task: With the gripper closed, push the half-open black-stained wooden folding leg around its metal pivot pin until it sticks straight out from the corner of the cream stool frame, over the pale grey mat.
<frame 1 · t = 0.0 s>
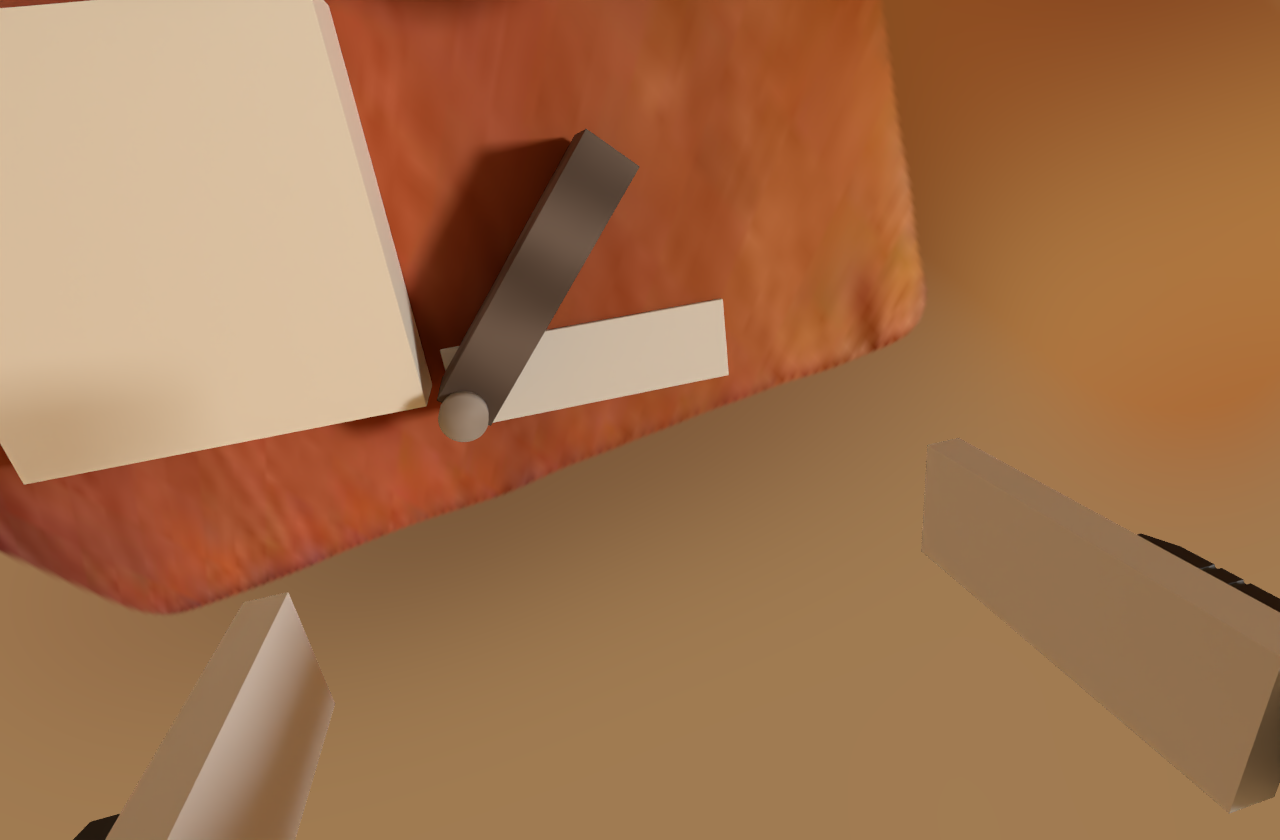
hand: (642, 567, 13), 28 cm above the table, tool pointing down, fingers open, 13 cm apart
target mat: (592, 362, 40), on the table
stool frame: (191, 244, 33), on the table
folding leg: (527, 292, 34), point 3 cm above the table, hinge at 40.0°
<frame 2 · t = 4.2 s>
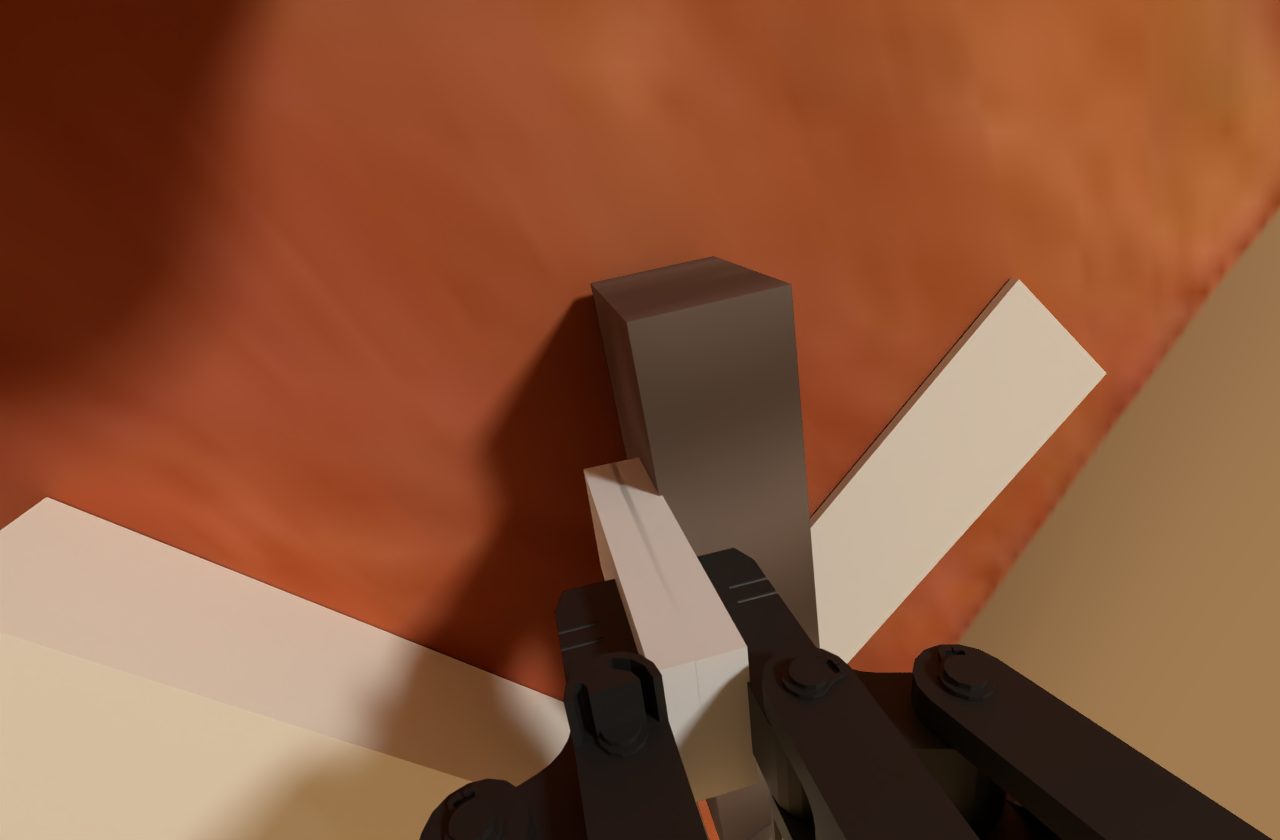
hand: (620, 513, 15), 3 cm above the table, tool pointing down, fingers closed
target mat: (869, 544, 21), on the table
folding leg: (731, 610, 16), point 3 cm above the table, hinge at 42.6°, touching gripper
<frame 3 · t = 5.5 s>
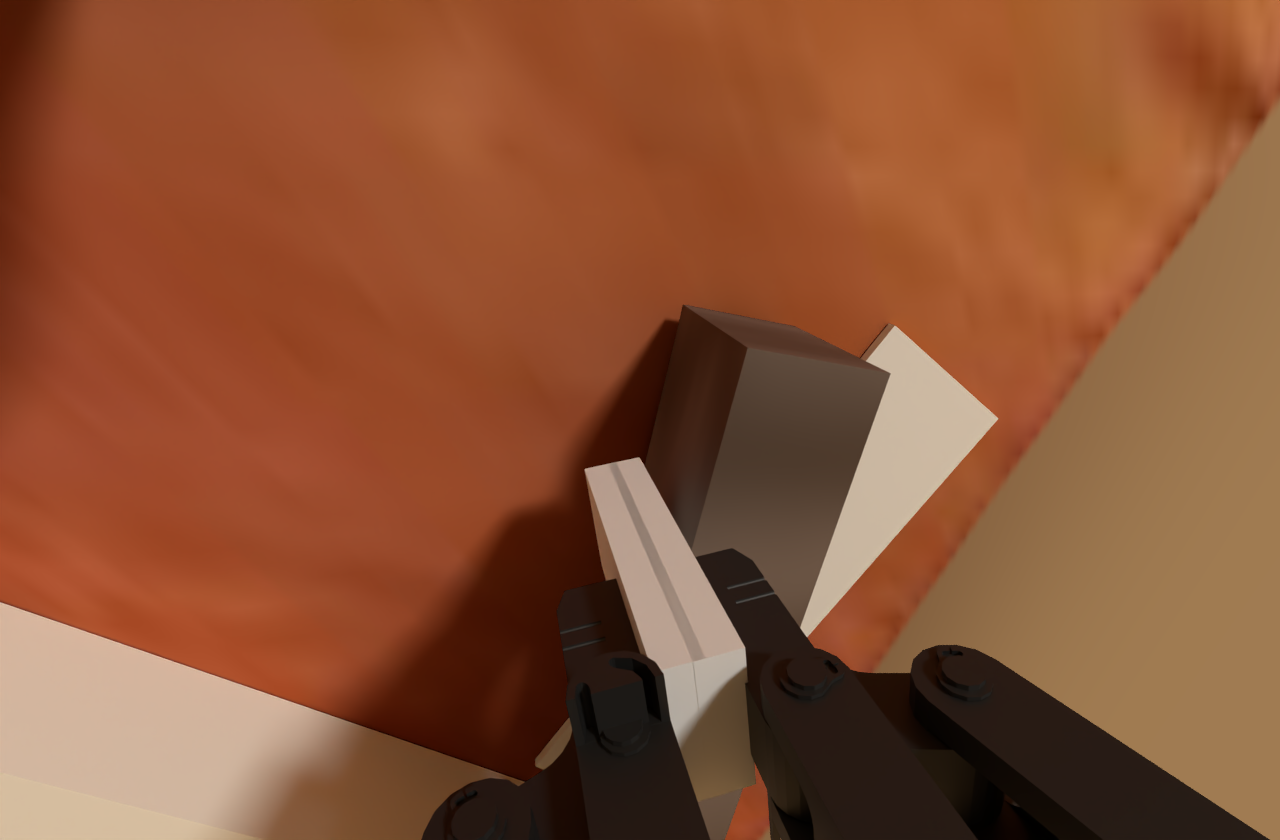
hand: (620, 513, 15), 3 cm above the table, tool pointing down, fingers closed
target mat: (757, 591, 20), on the table
folding leg: (690, 656, 16), point 3 cm above the table, hinge at 65.4°, touching gripper
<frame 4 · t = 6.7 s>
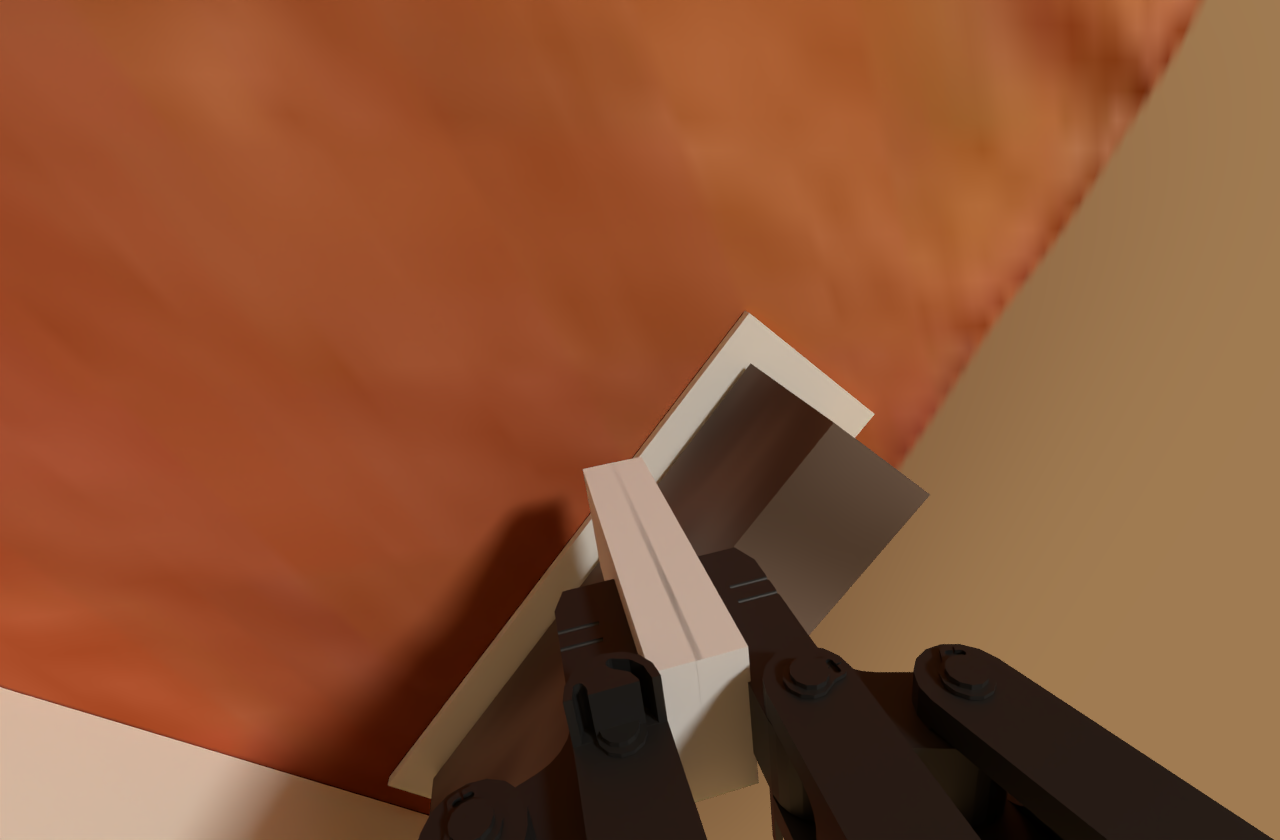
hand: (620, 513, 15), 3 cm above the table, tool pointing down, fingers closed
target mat: (622, 598, 19), on the table
folding leg: (629, 692, 16), point 3 cm above the table, hinge at 89.4°, touching gripper
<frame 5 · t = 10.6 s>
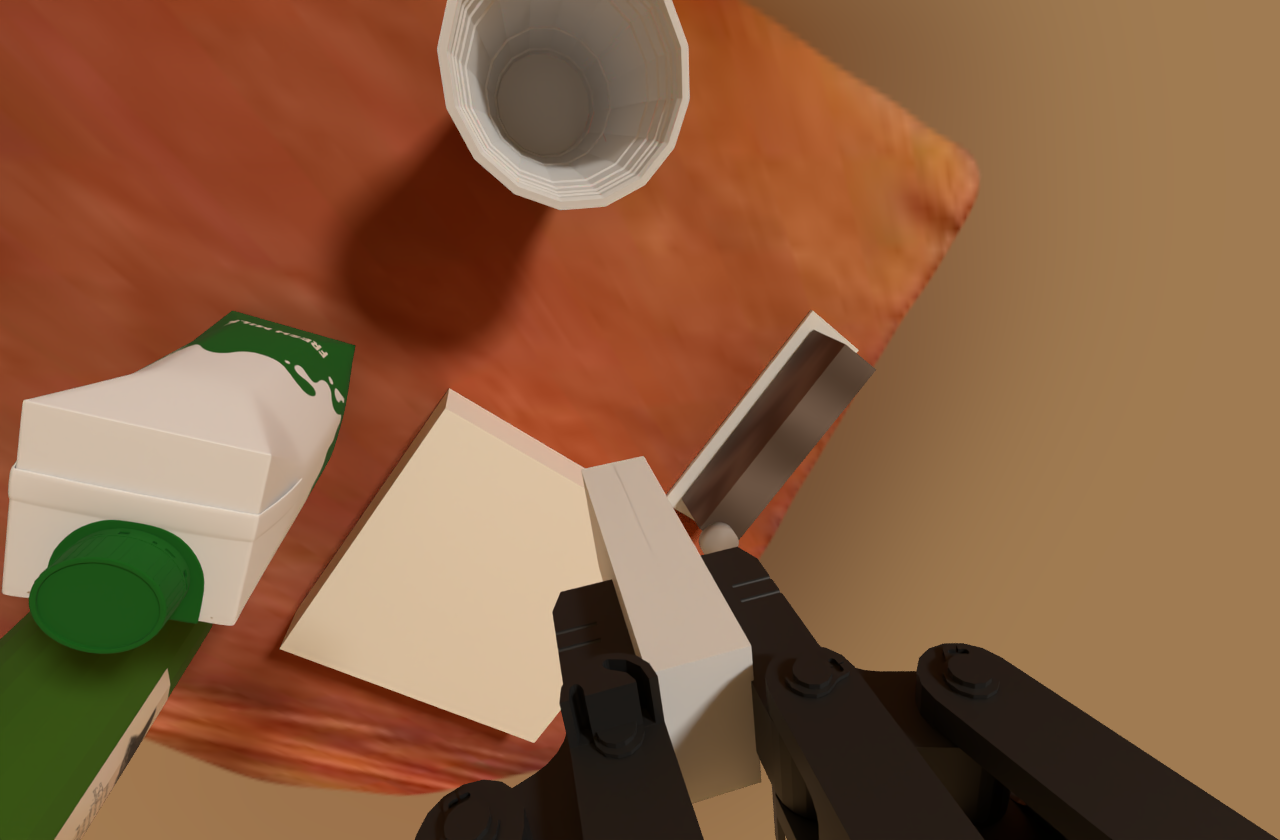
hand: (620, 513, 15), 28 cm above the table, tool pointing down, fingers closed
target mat: (758, 425, 48), on the table
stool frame: (494, 564, 47), on the table
wine bottle: (143, 603, 42), on the table
milk carton: (285, 379, 39), on the table
plastic cup: (547, 106, 37), on the table
folding leg: (770, 448, 45), point 3 cm above the table, hinge at 89.6°
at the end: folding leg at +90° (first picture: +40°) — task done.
